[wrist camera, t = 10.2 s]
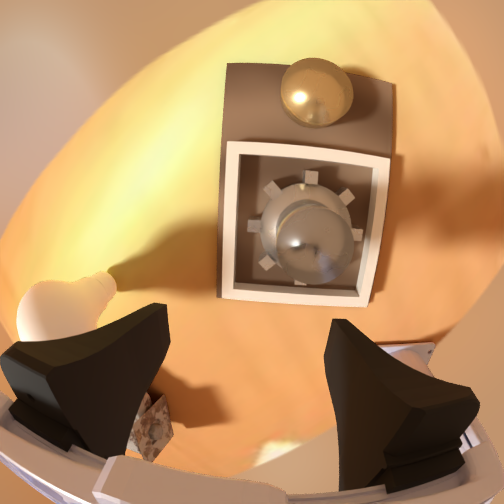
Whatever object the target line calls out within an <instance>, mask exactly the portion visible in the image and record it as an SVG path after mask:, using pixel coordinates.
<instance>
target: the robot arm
mask: <svg viewBox="0 0 504 504" xmlns="http://www.w3.org/2000/svg"><path fill="white" fill-rule="evenodd" d="M170 342H171V341H170V333H169V324H168V314H167V304H160V303H152V304H150V305H147V306H145V307H143V308H141V309H139V310H137V311H135V312H133V313H131V314H129V315H127V316H125V317H123V318H121V319H119V320H117V321H114V322H112V323H110V324H108V325H105V326H103V327H100V328H98V329H95V330H92V331H89V332H86V333H83V334H79V335H75V336H70V337H66V338H61V339H54V340H46V341H17V342H16V343H14V344H13V345H12V346H11V347H10V348H9V349H7V350H6V351H5V352H4V353H3V354H2V355H1V356H0V365H1V368H2V371H3V373H4V375H5V377H6V379H7V381H8V383H9V384H10V386H11V388H12V390H13V392H14V393H15V395H16V397H17V399H16V401H15V402H13V401H12V400H11V399H10V398H9V397H8V396H7V395H5V394H4V393H3V392H1V391H0V461H1V462H2V463H4V464H5V465H6V466H7V467H8V468H9V469H10V470H12V471H13V472H14V473H15V474H16V475H18V476H19V477H20V478H21V479H23V480H24V481H25V482H26V483H28V484H29V485H30V486H32V487H33V488H34V489H36V490H37V491H39V492H40V493H41V494H43V495H44V496H46V497H47V498H49V499H50V500H52V501H53V502H55V503H56V504H490V503H491V501H492V500H493V498H494V497H495V495H497V494H498V493H499V492H500V491H501V490H503V489H504V470H503V467H502V464H501V462H500V460H499V458H498V454H497V451H496V449H495V447H494V445H493V443H492V441H491V440H490V438H489V436H488V434H487V433H486V431H485V429H484V427H483V426H482V424H481V423H480V421H479V419H478V418H477V413H478V411H479V408H480V402H479V401H478V399H477V398H476V396H475V394H474V393H473V391H472V390H471V388H470V387H466V386H462V385H457V384H453V383H449V382H445V381H443V380H439V379H436V378H434V376H433V375H432V373H431V371H430V370H429V368H428V367H427V364H428V362H429V360H430V358H431V355H432V353H433V351H434V349H435V344H434V343H433V342H426V343H412V344H393V345H376V344H375V343H374V342H373V341H371V340H370V339H369V338H368V337H367V336H366V335H364V334H363V333H362V332H361V331H360V330H359V329H357V328H356V327H355V326H354V325H353V324H352V323H350V322H349V321H348V320H347V319H332V323H331V328H330V332H329V336H328V341H327V345H326V349H325V353H324V364H325V373H326V378H327V382H328V387H329V391H330V395H331V399H332V403H333V407H334V411H335V416H336V422H337V432H338V445H339V492H330V493H317V494H289V495H288V494H286V492H285V491H284V490H282V489H280V488H278V487H275V486H273V485H270V484H268V483H262V482H256V481H250V480H243V479H234V478H225V477H218V476H211V475H205V474H200V473H194V472H189V471H184V470H180V469H175V468H171V467H167V466H163V465H159V464H156V463H152V462H149V461H145V460H142V459H139V458H134V457H129V456H125V451H126V448H127V444H128V440H129V437H130V433H131V430H132V427H133V424H134V421H135V418H136V415H137V413H138V410H139V407H140V405H141V402H142V400H143V398H144V396H145V394H146V392H147V390H148V388H149V386H150V385H151V383H152V381H153V379H154V377H155V375H156V374H157V372H158V370H159V368H160V366H161V364H162V363H163V361H164V359H165V356H166V353H167V351H168V348H169V345H170ZM428 351H429V352H428Z"/></svg>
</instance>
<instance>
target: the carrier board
mask: <svg viewBox="0 0 504 504" xmlns="http://www.w3.org/2000/svg"><path fill="white" fill-rule="evenodd" d="M290 66H291V65H281V64H262V63H227V70H226V82H225V94H224V108H223V123H222V139H221V157H220V178H219V203H218V237H217V297H218V298H222V256H223V221H224V194H225V172H226V152H227V141H236V142H260V143H276V144H289V145H300V146H310V147H318V148H327V149H334V150H342V151H348V152H355V153H361V154H367V155H373V156H378V157H383V158H388V159H390V167H391V151H392V120H393V106H392V83H389V82H385V81H381V80H377V79H373V78H369V77H364V76H360V75H355V74H350V73H346V75H347V76H348V78H349V79H350V81H351V84H352V87H353V101H352V104H351V107H350V108H349V110H348V111H347V113H346V114H345V115H343V116H342V117H341V118H339V119H338V120H337V121H335V122H334V123H333V124H331V125H329V126H327V127H324V128H319V129H311V128H306V127H303V126H300V125H298V124H297V123H295V122H294V121H292V120H291V119H290V118H289V117H288V116H287V115H286V113H285V112H284V110H283V108H282V105H281V100H280V93H281V83H282V78H283V76H284V73H285V72H286V70H287V69H288V68H289V67H290ZM303 170H307V171H317V172H318V183H317V185H320V186H323V187H325V188H327V189H329V190H331V191H332V192H334V193H335V192H336V191H338V190H339V189H340V188H341V187H345V188H348V189H349V190H350V192H351V193H352V194H353V196H354V197H355V199H353V200H352V201H351V202H350V203H349V204H347V205H346V207H347V210H348V212H349V215H350V219H351V224H352V225H357V226H359V227H360V228H362V229H363V234H362V240H361V241H354V252H353V256H352V259H351V261H350V263H349V265H348V266H347V268H346V269H345V270H344V271H343V273H341V274H340V275H339V276H338V277H336V278H335V279H333V280H331V281H329V282H326V283H323V284H306V285H295V284H294V279H293V278H292V277H290V276H289V275H288V274H287V273H286V272H285V271H284V269H283V268H281V267H280V266H278V265H277V264H274V265H273V266H272V267H271V268H269V269H268V270H267V271H266V270H265V269H264V268H263V267H262V266H261V265H260V264H259V263H258V261H259V255H261V254H262V253H263V252H264V251H265V249H264V247H263V244H262V241H261V235H260V233H254V232H247V227H248V219H249V217H250V216H259V217H262V214H263V211H264V208H265V206H266V204H267V203H268V201H269V200H270V197H269V195H268V194H267V193H266V192H265V191H264V190H263V188H264V187H265V186H266V185H267V184H269V183H270V182H271V181H272V180H273V181H274V182H275V183H276V184H277V185H278V187H279V188H280V189H282V188H284V187H286V186H288V185H291V184H294V183H301V182H302V179H303ZM372 173H373V168H367V167H361V166H355V165H348V164H340V163H333V162H325V161H316V160H307V159H296V158H285V157H271V156H254V155H241V166H240V185H239V206H238V228H237V251H236V277H235V282H236V283H248V284H261V285H274V286H288V287H303V288H319V289H337V290H356V285H357V280H358V275H359V270H360V264H361V259H362V253H363V247H364V241H365V234H366V227H367V220H368V212H369V204H370V195H371V185H372ZM389 179H390V170H389ZM388 190H389V182H388ZM387 199H388V192H387ZM386 207H387V201H386ZM385 215H386V209H385ZM384 222H385V217H384ZM383 229H384V224H383ZM382 235H383V231H382ZM381 241H382V237H381ZM380 247H381V243H380ZM379 253H380V249H379ZM378 258H379V254H378ZM377 263H378V260H377ZM376 268H377V265H376ZM375 273H376V270H375ZM374 278H375V275H374ZM373 283H374V279H373ZM372 287H373V284H372ZM371 291H372V288H371ZM370 296H371V293H370ZM369 300H370V297H369ZM368 304H369V301H368ZM367 307H368V305H367Z"/></svg>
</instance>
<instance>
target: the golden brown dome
mask: <svg viewBox="0 0 504 504" xmlns="http://www.w3.org/2000/svg"><path fill="white" fill-rule="evenodd" d="M280 100H281V105H282V108H283V110H284V112H285V113H286V115H287V116H288V117H289V118H290V119H291V120H292V121H294V122H295V123H297V124H298V125H300V126H303V127H306V128H311V129H319V128H324V127H327V126H329V125H331V124H333V123H334V122H335V121H337V120H338V119H339V118H341V117H342V116H343V115H345V114H346V113H347V111H348V110H349V108H350V107H351V104H352V101H353V87H352V84H351V81H350V79H349V78H348V76H347V75H346V73H345V72H344V71H343V70H342V69H341V68H340V67H338V66H337V65H335V64H334V63H332V62H330V61H327V60H324V59H320V58H307V59H302V60H299V61H297V62H295V63H294V64H292V65H291V66H290V67H289V68H288V69H287V70H286V72H285V73H284V76H283V78H282V83H281V93H280Z"/></svg>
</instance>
